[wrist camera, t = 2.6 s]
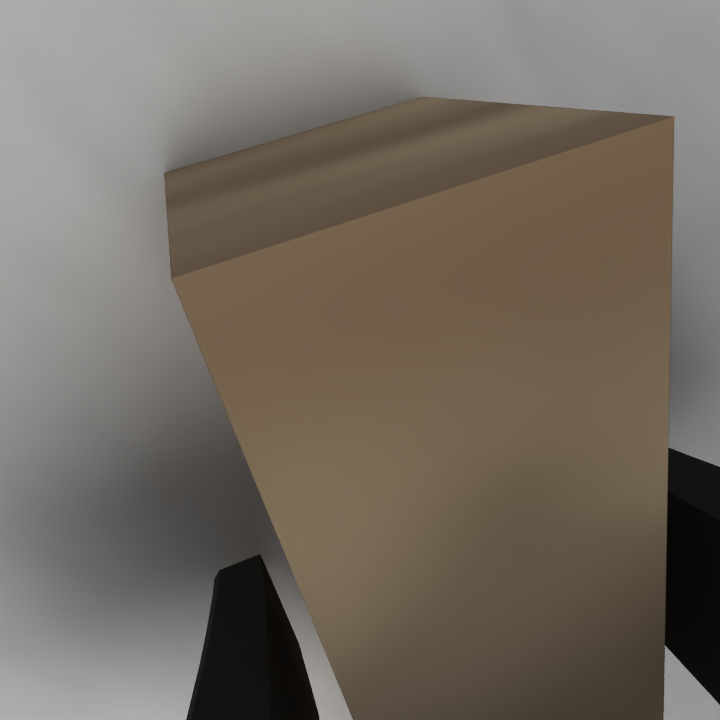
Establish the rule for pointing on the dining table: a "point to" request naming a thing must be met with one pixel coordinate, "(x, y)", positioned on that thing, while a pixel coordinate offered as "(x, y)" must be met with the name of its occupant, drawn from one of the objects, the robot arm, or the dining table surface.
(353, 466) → the rail
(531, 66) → the dining table surface
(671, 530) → the robot arm
